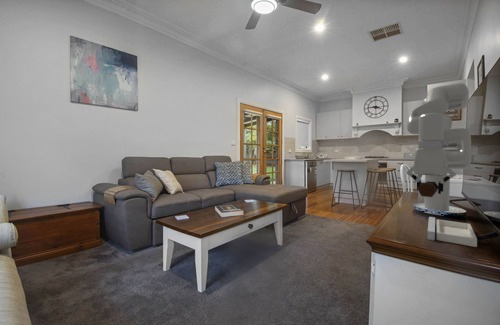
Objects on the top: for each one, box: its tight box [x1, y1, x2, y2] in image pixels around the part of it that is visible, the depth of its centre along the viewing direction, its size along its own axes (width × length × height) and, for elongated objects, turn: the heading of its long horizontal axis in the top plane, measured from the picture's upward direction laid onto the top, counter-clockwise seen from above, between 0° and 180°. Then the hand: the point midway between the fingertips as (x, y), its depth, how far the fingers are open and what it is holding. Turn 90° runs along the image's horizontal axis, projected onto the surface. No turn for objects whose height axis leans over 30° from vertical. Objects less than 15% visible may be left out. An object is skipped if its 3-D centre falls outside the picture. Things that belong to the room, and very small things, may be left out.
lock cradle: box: [435, 218, 478, 248], centre depth 83 cm, size 20×10×3 cm, turn 140°
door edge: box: [426, 216, 436, 241], centre depth 87 cm, size 22×2×3 cm, turn 140°
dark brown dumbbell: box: [416, 181, 438, 198], centre depth 87 cm, size 6×5×15 cm
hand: (429, 192), depth 87 cm, fingers closed on dark brown dumbbell, 5 cm apart
